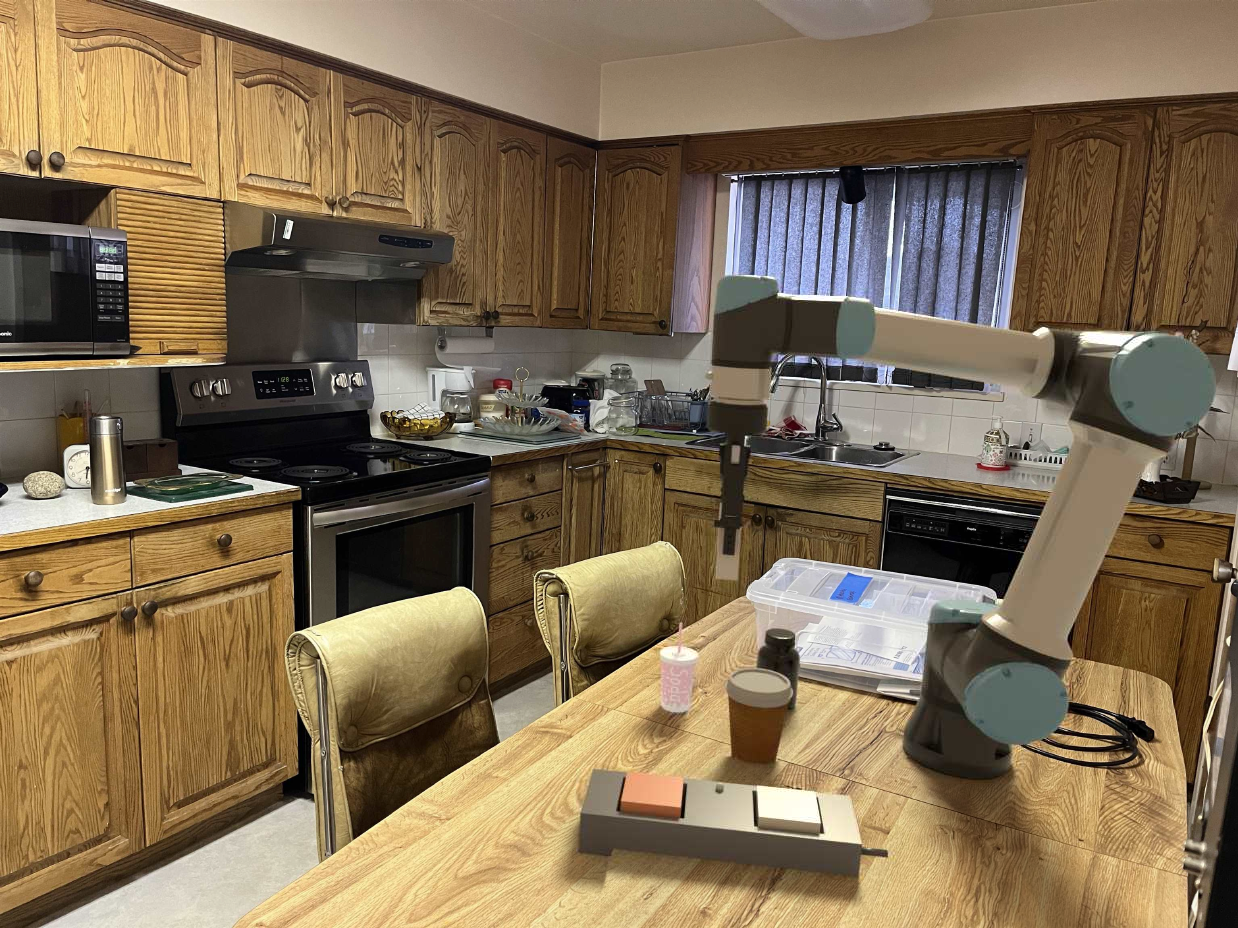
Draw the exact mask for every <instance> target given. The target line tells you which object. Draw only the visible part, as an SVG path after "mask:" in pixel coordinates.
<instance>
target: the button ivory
mask: <svg viewBox="0 0 1238 928" xmlns="http://www.w3.org/2000/svg"><path fill="white" fill-rule="evenodd" d="M756 786H757V792H756V804H755V816H754V826H755V827H764V828H773V829H782V830H791V831H800V832H809V833H819V834H820V825H821V822H820V817H819V811H818V805H817V800H816V794H815V792H816V791H811V790H802V789H794V788H793V789H792V788H784V787H773V786H765V785H756Z"/></svg>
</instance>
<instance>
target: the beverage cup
mask: <svg viewBox="0 0 1238 928" xmlns="http://www.w3.org/2000/svg"><path fill="white" fill-rule="evenodd" d="M678 627H679V628H678V639H677V646H676V645H673V646H671V645H670V646H666V647H665V646H664V647H663V648H661V649H660V651H659V658H660V664H661V665H660V666H661V667H660V671H661V672H660V677H661V678H660V679H661V680H660V691H661V692H660V693H661V695H660V702H661V704H660V705H661V708H662V709H663V710H665V711H667V712H671V713H684V712H687V711H688V710H690V709H691V707H690V706H691V699H692V693H693V687H694V686H693V685H694V680H695V678H694V677H695V670H696V664H697V662H698V660H699V659H698V658H699V654H698V652H697V651H696V650H695V649H692V648H691V647H690V648H689V647H687V646H682V639H683V638H682V636H683V622H679V626H678Z"/></svg>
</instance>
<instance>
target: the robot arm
mask: <svg viewBox="0 0 1238 928" xmlns="http://www.w3.org/2000/svg"><path fill="white" fill-rule="evenodd" d="M779 291H780V289H779V283H778V280H777V279H776V278H775V277H773V276H761V275H748V274H747V275H744V274H728V275H725V276H723V277H721V278H720V279H719V280H718V282H717V285H716V294H715V302H714V310H713V320H712V321H713V323H712V339H711V340H712V343H711V344H712V345H711V361H710V364H711V366H710V369H711V371H707V372H706V373H705V375H704V378H705V379H706V380H708V381H711V382H709V393H708V394H709V395H710V397H712V398H713V399H711V400H709V402H708V403H707V413H706V414H707V416H706V428H707V429H708V430H709V431H710V432H714V433H719V434H724V439H725V440H724V443H719V447H718V448H719V449H718V450H719V451H718V461H719V479H720V480H721V487H720V492H721V494H720V495H719V497H720V498H719V500H720V501H721V502H720V501H719V511H718V519H714V520H713V521H714V524H713V527H714V528H716V529H717V540H716V564H715V574H714V575H715V577H714V579H716V580H723V581H724V580H726V581H727V580H728V581H738V579H739V576H738V575H739V566H740V565H739V564H740V553H741V551H740V550H741V538H742V527H743V523H744V520H743V508H744V507H743V504H744V503H745V497H746V495H745V494H744V487H745V482H746V481H747V480H748V473H749V471H748V470H749V463H750V462H751V456H752V455H751V454H752V453H751V452H752V451H751V450H752V449H751V445H745V444H746V436H747V435H749V436H757V435H762V434H765V432H767V427H768V426H767V425H768V414H769V406H768V405H767V403H765V401H767V400H769V399H770V395H771V382H772V381H771V380H772V369H773V368H772V360H773V355H779V356H798V357H807V358H808V357H813V358H827V359H838V360H841V361H842V360H846V359H847V360H851V361H857V362H864V363H870V364H875V365H882V366H888V367H893V368H899V369H905V370H911V371H916V372H922V373H926V374H927V373H928V374H935V375H939V376H947V377H952V378H958V379H964V380H969V381H974V382H982V383H986V384H993V385H998V386H1005V387H1010V388H1015V389H1019V391H1020V392H1021V394H1022V395H1023V396H1024V397H1026V398H1031V399H1036V400H1042V401H1046V402H1049V403H1050V402H1051V403H1054V404H1056V405H1061V406H1063V407H1066V408H1068V409H1071V410H1072V412H1071V414H1070V415H1069V419H1068V421H1067V423H1068V426H1069V428H1070V430H1071V432H1072V434H1073V439H1074V440H1073V442H1072V443H1071V446H1070V449H1069V451H1068V453H1067V455H1066V458H1065V459H1064V462H1063V464H1062V466H1061V469H1060V472H1059V473H1058V475H1057V478H1056V480H1055V482H1054V485H1053V487H1052V489H1051V492H1050V494H1049V496H1048V498H1047V500H1046V502H1045V505H1044V507H1043V510H1042V511H1041V514H1040V516H1039V518H1038V521H1037V523H1036V526H1035V528H1034V530H1033V531H1032V534H1031V537H1030V539H1029V540H1028V543H1027V546H1026V548H1025V550H1024V553H1023V555H1022V557H1021V559H1020V561H1019V564H1018V566H1017V569H1016V570H1015V573H1014V575H1013V577H1012V580H1011V582H1010V584H1009V586H1008V589H1007V591H1006V593H1005V595H1004V597H1003V600H1002V603H1001V604H1000V605H998V604H993V603H987V602H983V601H972V600H963V599H962V600H960V599H953V600H951V599H948V600H946V599H945V600H939V601H938V602H936V603H934V604H932V606H931V608H930V612H929V613H930V614H929V618H928V620H927V622H926V623H927V624H926V625H927V632H926V633H927V635H926V644H925V651H924V652H925V653H924V660H923V661H924V662H923V670H922V679H921V680H922V681H921V688H920V694H919V695H920V696H919V699H918V701H917V702H916V704H915V706H914V709H913V711H912V712H911V715H910V716H909V718H908V720H907V722H906V724H905V726H904V728H903V735H902V736H903V738H902V747H903V749H904V751H905V752H906V753H907V754H908V756H910V758H912V759H914V761H916V762H918V763H919V764H921V765H923V766H925V767H927V768H929V769H932V770H935V772H939V773H944V774H946V775H950V776H953V777H959V778H964V779H965V778H968V779H978V780H979V779H981V780H983V779H992V778H998V777H1000V776H1002V775H1004V774H1006V773H1008V771H1009V770H1010V769H1011V765H1012V756H1013V748H1012V745H1013V746H1023V745H1030V744H1031V743H1035V742H1036V741H1041V740H1044V739H1046V738H1047V737H1049V736H1051V735H1052V734H1053V733H1054V732H1055V731H1056V730H1058V729H1059V727H1060V726H1061V725H1062V723H1063V722H1064V720H1065V718H1066V716H1067V715H1068V709H1069V703H1070V699H1069V695H1068V693H1067V687H1066V684H1065V682H1064V681H1063V680H1064V677H1065V676H1066V673H1067V671H1068V669H1069V667H1070V665H1071V663H1072V660H1073V657H1074V653H1073V651H1072V648H1071V647H1070V644H1069V642H1068V636H1069V635H1070V632H1071V629H1072V628H1073V625H1074V623H1075V621H1076V619H1077V617H1078V615H1079V612H1080V610H1081V608H1082V606H1083V604H1084V601H1085V600H1086V597H1087V595H1088V592H1089V591H1090V589H1091V587H1092V584H1093V583H1094V580H1095V578H1096V576H1097V574H1098V572H1099V569H1100V567H1101V565H1102V564H1103V561H1104V558H1105V556H1106V554H1107V552H1108V549H1109V547H1110V545H1111V543H1112V541H1113V539H1114V537H1115V535H1116V532H1117V530H1118V527H1119V526H1120V523H1121V521H1122V520H1123V517H1124V514H1125V512H1126V511H1127V509H1128V507H1129V504H1130V502H1131V501H1132V498H1133V496H1134V493H1135V492H1136V490H1137V487H1138V485H1139V483H1140V480H1141V478H1142V476H1143V473H1144V472H1145V470H1146V467H1148V465H1149V464H1150V463H1152V462H1154V461H1156V460H1159V459H1163V458H1165V457H1167V455H1168V454H1169V451H1170V449H1171V446H1172V444H1173V443H1174V442H1175V439H1176V437H1177V435H1178V434H1180V433H1183V432H1185V431H1187V430H1189V429H1191V428H1193V427H1195V426H1197V425H1198V424H1199V423H1200V422H1201V421H1202V420H1203V419H1204V418H1205V417H1206V416H1207V414H1208V412H1210V409H1211V407H1212V405H1213V403H1214V400H1215V396H1216V390H1217V389H1216V388H1217V381H1216V374H1215V370H1214V368H1213V366H1212V364H1211V362H1210V360H1209V357H1208V356H1207V354H1206V353H1205V352H1204V351H1203V349H1202V348H1200V347H1199V346H1198V345H1196V344H1195V343H1193V342H1192V341H1190V340H1188V339H1187V338H1184V337H1181V336H1177V335H1173V334H1170V333H1165V332H1161V331H1158V330H1155V331H1154V330H1153V331H1152V330H1149V331H1126V330H1116V329H1111V330H1106V329H1105V330H1062V329H1055V328H1054V329H1053V328H1048V327H1039V328H1038V329H1036V330H1035V331H1033V332H1028V331H1027V332H1026V331H1020V330H1016V329H1015V330H1014V329H1008V328H1002V327H997V326H996V327H995V326H989V325H986V324H985V325H983V324H977V323H971V322H965V321H960V320H953V319H948V318H942V317H934V316H930V315H924V314H918V313H912V312H911V313H910V312H904V311H900V310H899V311H898V310H892V309H887V308H886V309H885V308H880V307H875V306H874V303H873V302H872V301H871V300H870V299H867V298H860V297H852V296H839V295H838V296H837V295H836V296H835V295H832V296H831V295H811V294H810V295H807V294H806V295H805V294H804V295H802V294H801V295H800V294H790V293H789V294H787V293H782V292H779Z"/></svg>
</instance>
